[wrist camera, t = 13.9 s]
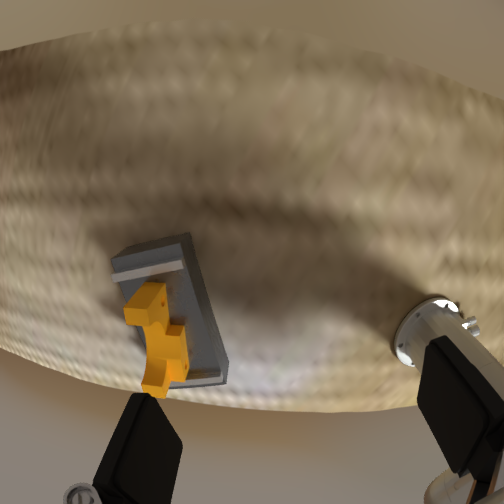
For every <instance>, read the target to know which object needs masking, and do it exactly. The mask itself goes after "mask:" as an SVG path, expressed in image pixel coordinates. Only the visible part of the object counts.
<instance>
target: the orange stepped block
mask: <svg viewBox="0 0 504 504" xmlns="http://www.w3.org/2000/svg"><path fill="white" fill-rule="evenodd" d="M123 309H124V315H125V320H126V325H136V326H142V327H143V330H144V333H145V338H146V347H147V359H146V368H145V374H144V377H143V381H142V383H141V386H142V389H143V393H149V394H150V395H151V396H152V397H156V398H164V399H165V397H166V394H167V391H168V388H169V386H170V383H171V381H174V382H185V380H186V377H187V373H188V370H189V360H188V352H187V344H186V336H185V328H184V326H183V325H170V318H169V310H168V302H167V294H166V284H165V283H155V282H144V283H143V284H142V286H141V287H140V288H139V289H138V290H137V292H136V293H135V294H134V295H133V296H132V298H131V299H130V300H129V301H128V302H127V304H126V305H125V306H124V307H123Z"/></svg>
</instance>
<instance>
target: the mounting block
mask: <svg viewBox="0 0 504 504" xmlns="http://www.w3.org/2000/svg"><path fill="white" fill-rule="evenodd" d="M111 262H112V264H113V267H114V270H115V271H114V272H113V273H112V274H111V277H112V280H113V283H115V282H119V284H120V287H121V290H122V292H123V295H124V298H125V300H126V303H127V302H128V301H129V300H130V299H131V298H132V296H133V295H134V294H135V293H136V292H137V290H138V289H139V288H140V287H141V286H142V284H143V283H144V282H155V283H165V284H166V294H167V302H168V310H169V318H170V325H183V326H184V328H185V336H186V344H187V352H188V360H189V370H188V373H187V377H186V380H185V382H174V381H171V383H170V386H169V388H168V389H181V388H194V387H205V386H215V385H224V384H226V382H227V375H228V367H229V360H228V357H227V354H226V351H225V348H224V345H223V342H222V339H221V336H220V333H219V330H218V327H217V324H216V320H215V317H214V314H213V311H212V308H211V304H210V301H209V298H208V294H207V291H206V288H205V284H204V281H203V278H202V274H201V271H200V267H199V264H198V260H197V257H196V253H195V250H194V246H193V242H192V239H191V235H190V232H189V233H184V234H180V235H176V236H171V237H167V238H163V239H159V240H154V241H150V242H146V243H142V244H138V245H134V246H130V247H127V248H125V249H124V250H123V251H121V252H120V253H119V254H117V255H116V256H114V257H113V258H112V259H111ZM136 327H137V329H138V332H139V334H140V336H141V339H142V341H143V343H144V345H145V348H146V350H147V347H146V338H145V333H144V330H143V327H142V326H136Z"/></svg>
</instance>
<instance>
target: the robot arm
mask: <svg viewBox="0 0 504 504" xmlns="http://www.w3.org/2000/svg"><path fill="white" fill-rule="evenodd" d="M475 323H476V318H475V316H472V317H469V318H467V319H465V320H464V319H462V318H461V317H460V313H459V310H458V308H457V306H456V305H455V304H454V303H453V302H451V301H450V300H448V299H446V298H441V297H438V298H432V299H429V300H426V301H424V302H422V303H421V304H419V305H418V306H416V307H415V308H414V309H413V310H412V311H411V312H410V313H409V314H408V315H407V316H406V317H405V318H404V320H403V321H402V323H401V324H400V326H399V328H398V330H397V332H396V336H395V340H394V349H395V353H396V355H397V357H398V359H399V360H400V361H401V362H402V363H403V364H405V365H407V366H411V367H416V368H417V370H418V371H419V373H420V374H421V380H420V385H419V391H418V396H417V403H418V407H419V409H420V410H421V412H422V414H423V416H424V418H425V420H426V421H427V423H428V425H429V427H430V429H431V431H432V433H433V435H434V437H435V439H436V440H437V443H438V444H439V446H440V448H441V450H442V452H443V454H444V456H445V458H446V460H447V462H448V464H449V468H448V469H447V470H445V471H444V472H443V473H441V474H440V475H439V476H438V477H436V478H435V479H434V480H433V481H432V482H431V484H430V485H429V486H428V487H427V489H426V491H425V494H424V504H504V367H503V366H502V365H501V364H500V363H499V362H498V361H497V359H496V358H495V357H494V356H493V355H492V354H491V353H490V352H489V351H488V350H487V349H486V348H485V347H484V346H483V345H482V344H481V343H480V342H479V341H478V340H477V339H476V338H475V337H476V336H478V335H479V333H480V329H479V327H478V326H477V325H474V326H472V327H470V328H468V329H467V326H471V325H473V324H475ZM182 449H183V445H182V441H181V439H180V438H179V436H178V435H177V433H176V432H175V430H174V428H173V427H172V425H171V424H170V422H169V420H168V419H167V417H166V415H165V414H164V412H163V410H162V409H161V407H160V406H159V403H158V402H157V400H156V399H155V397H152V396H151V395H150V394H149V393H133V394H132V395H131V397H130V399H129V401H128V403H127V405H126V407H125V409H124V411H123V414H122V416H121V418H120V420H119V422H118V424H117V427H116V429H115V431H114V433H113V435H112V438H111V440H110V442H109V444H108V447H107V449H106V451H105V453H104V456H103V458H102V461H101V463H100V465H99V467H98V470H97V472H96V475H95V477H94V479H93V484H92V485H90V484H87V483H77V484H74V485H73V486H71V487H70V488H69V489H68V490H67V491H66V492H65V494H64V499H63V503H64V504H171V499H172V494H173V490H174V485H175V480H176V476H177V471H178V467H179V463H180V458H181V454H182Z"/></svg>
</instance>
